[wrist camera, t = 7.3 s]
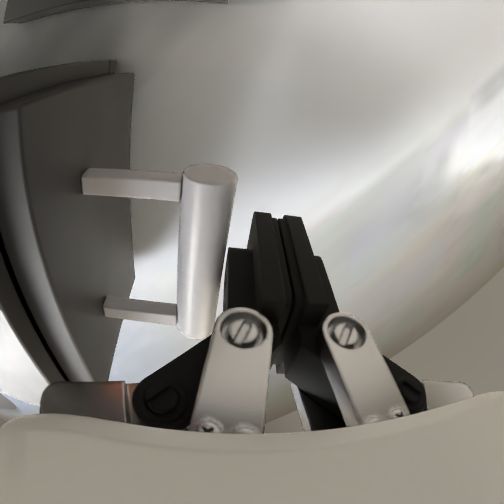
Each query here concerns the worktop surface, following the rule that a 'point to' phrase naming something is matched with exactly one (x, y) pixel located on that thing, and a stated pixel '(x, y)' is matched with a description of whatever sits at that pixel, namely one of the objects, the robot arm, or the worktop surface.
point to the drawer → (98, 222)
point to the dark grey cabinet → (3, 291)
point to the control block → (60, 7)
